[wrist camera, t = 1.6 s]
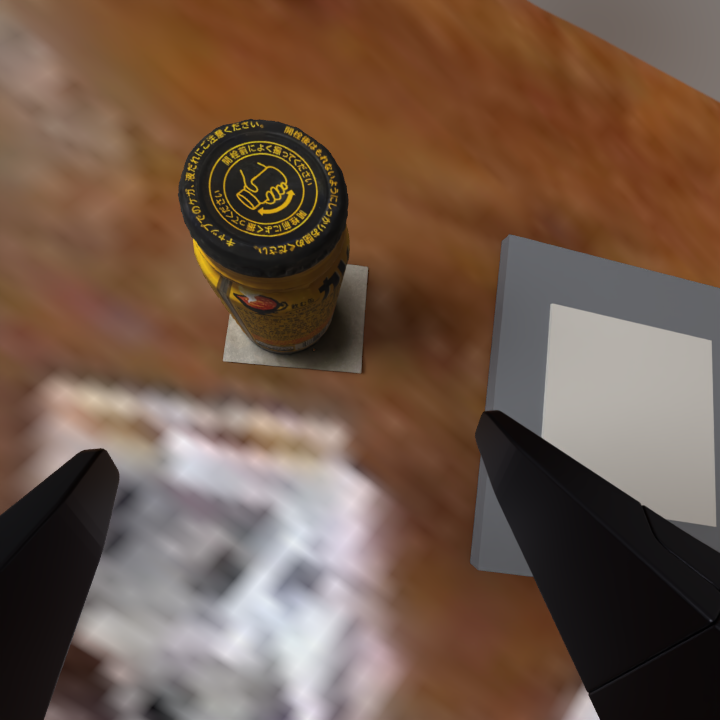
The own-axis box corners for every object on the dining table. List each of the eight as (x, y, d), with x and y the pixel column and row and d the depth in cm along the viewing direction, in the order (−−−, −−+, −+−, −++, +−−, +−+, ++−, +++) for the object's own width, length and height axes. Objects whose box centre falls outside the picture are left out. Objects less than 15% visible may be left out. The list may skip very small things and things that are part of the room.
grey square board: (740, 597, 24) (763, 606, 23) (470, 562, 21) (479, 571, 20) (729, 299, 28) (748, 293, 27) (501, 241, 25) (511, 232, 24)
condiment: (239, 251, 22) (166, 68, 11) (367, 268, 24) (430, 121, 12) (223, 361, 21) (122, 292, 9) (360, 374, 22) (422, 326, 11)
